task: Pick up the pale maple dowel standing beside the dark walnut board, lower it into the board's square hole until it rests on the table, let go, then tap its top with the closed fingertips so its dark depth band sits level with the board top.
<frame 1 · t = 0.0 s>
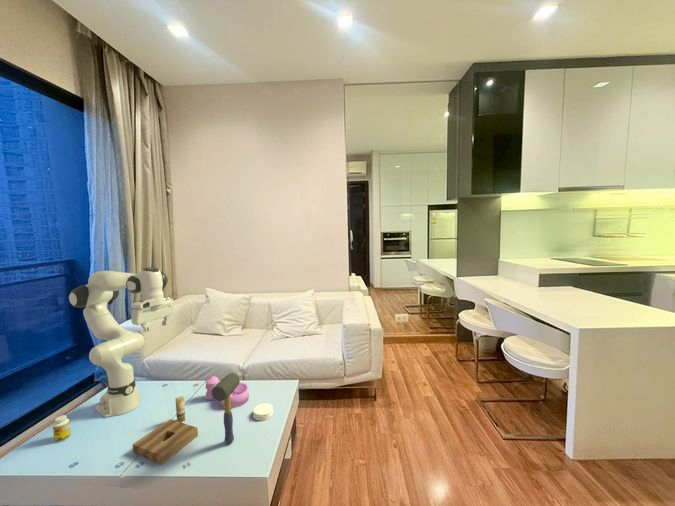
hand: (155, 328, 145), 48 cm above the table, tool pointing down, fingers open, 8 cm apart
walnut board: (166, 444, 132), on the table
maple dowel: (181, 420, 148), on the table
cream round disc: (263, 415, 151), on the table
supplement bottle: (62, 438, 137), on the table
rubber mallet: (229, 442, 132), on the table
container set: (226, 399, 166), on the table
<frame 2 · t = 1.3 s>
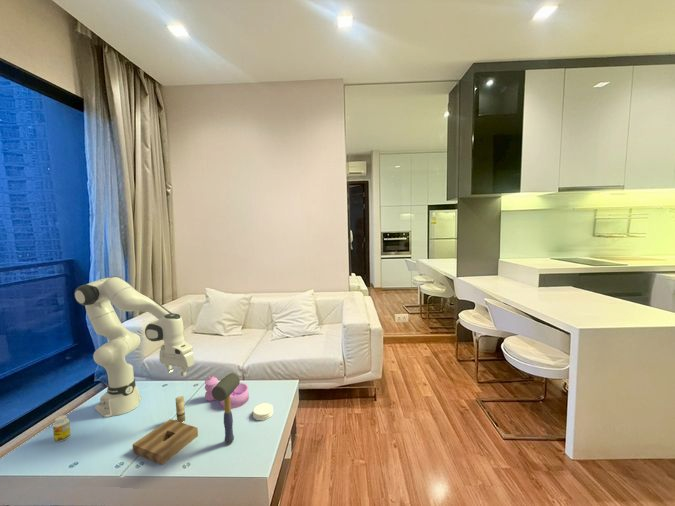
hand: (177, 373, 145), 25 cm above the table, tool pointing down, fingers open, 8 cm apart
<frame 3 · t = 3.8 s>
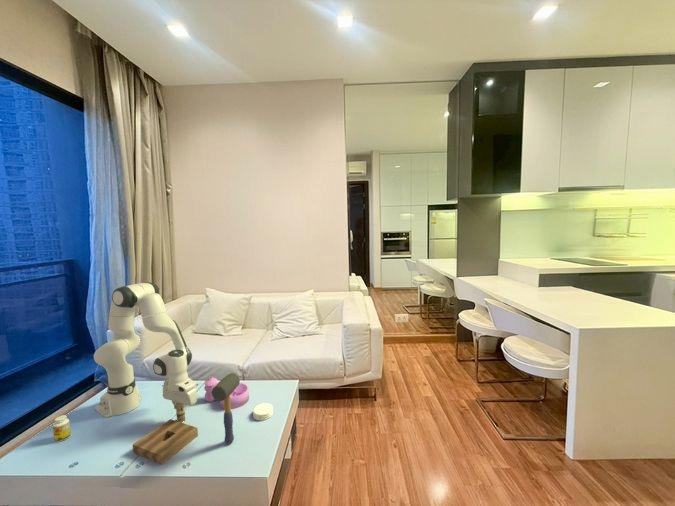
hand: (180, 409, 147), 6 cm above the table, tool pointing down, fingers closed on maple dowel, 4 cm apart
maple dowel: (181, 420, 148), on the table, touching gripper
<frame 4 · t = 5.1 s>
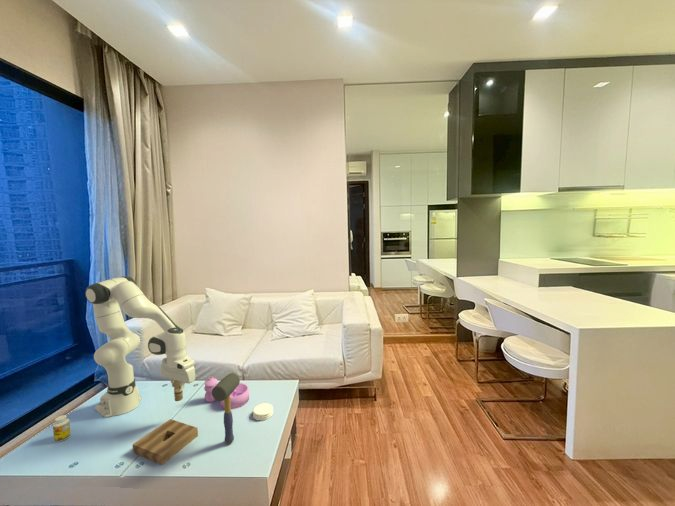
hand: (178, 387, 146), 18 cm above the table, tool pointing down, fingers closed on maple dowel, 4 cm apart
maple dowel: (178, 399, 147), point 11 cm above the table, touching gripper
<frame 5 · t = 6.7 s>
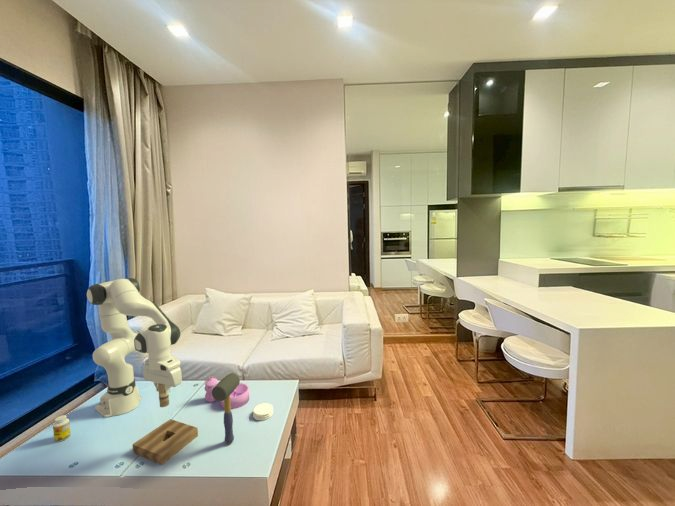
hand: (163, 391, 130), 24 cm above the table, tool pointing down, fingers closed on maple dowel, 4 cm apart
maple dowel: (164, 404, 131), point 18 cm above the table, touching gripper
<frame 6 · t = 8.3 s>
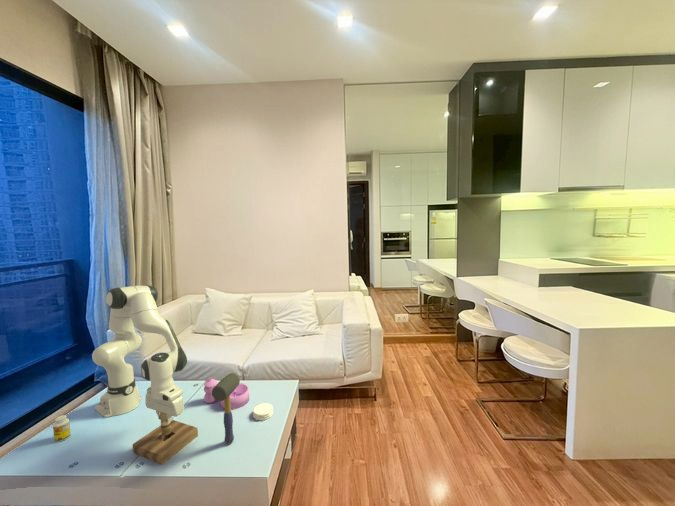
hand: (165, 420, 131), 11 cm above the table, tool pointing down, fingers closed on maple dowel, 4 cm apart
maple dowel: (166, 432, 132), point 5 cm above the table, touching gripper
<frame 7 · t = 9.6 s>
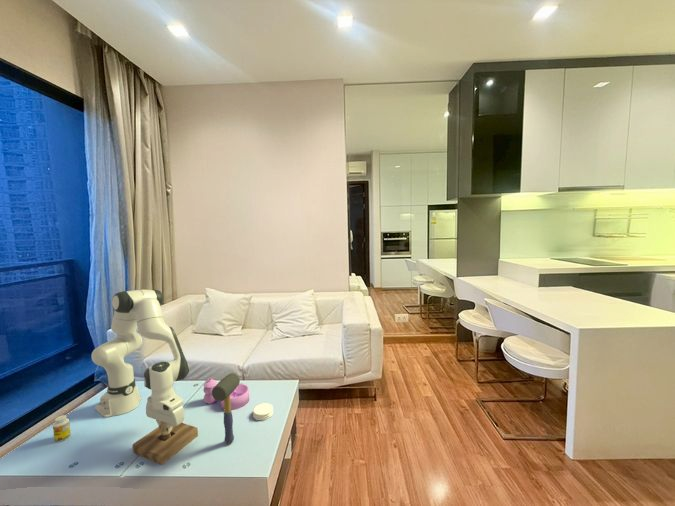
hand: (165, 429, 131), 7 cm above the table, tool pointing down, fingers closed on maple dowel, 4 cm apart
maple dowel: (166, 441, 132), point 1 cm above the table, touching gripper
when the fingers open (7 cm above the table, at t = 9.6 s): maple dowel stays where it is, resting in walnut board.
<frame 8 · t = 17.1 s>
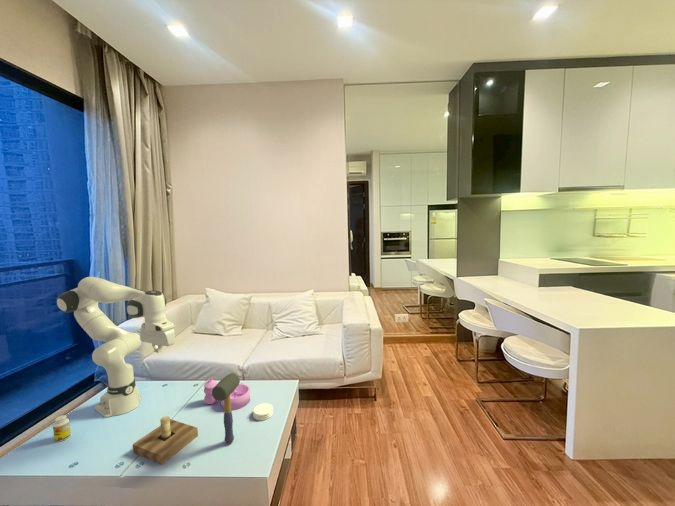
hand: (158, 352, 142), 37 cm above the table, tool pointing down, fingers closed
maple dowel: (166, 443, 132), resting in walnut board
at the end: maple dowel 0.1 cm off-centre on the walnut board, point 0.0 cm above the walnut board's base; maple dowel tilted 0°; the gripper is holding nothing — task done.
